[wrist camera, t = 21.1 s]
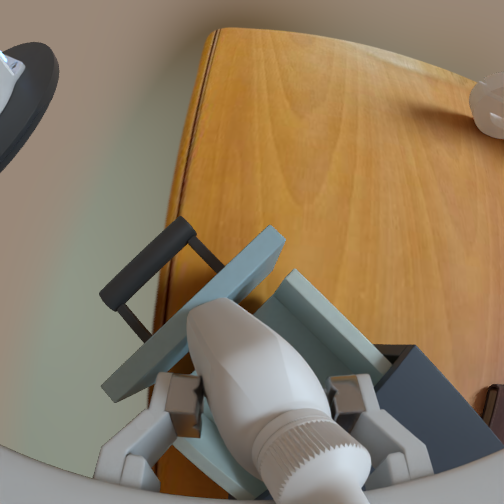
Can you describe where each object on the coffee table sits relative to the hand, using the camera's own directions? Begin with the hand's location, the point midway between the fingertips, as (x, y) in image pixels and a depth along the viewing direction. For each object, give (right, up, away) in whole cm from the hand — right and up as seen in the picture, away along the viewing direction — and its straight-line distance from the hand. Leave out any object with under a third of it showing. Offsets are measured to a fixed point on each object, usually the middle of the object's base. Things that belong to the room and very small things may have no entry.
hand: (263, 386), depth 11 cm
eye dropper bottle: (-2, 0, +5) cm, 6 cm away
